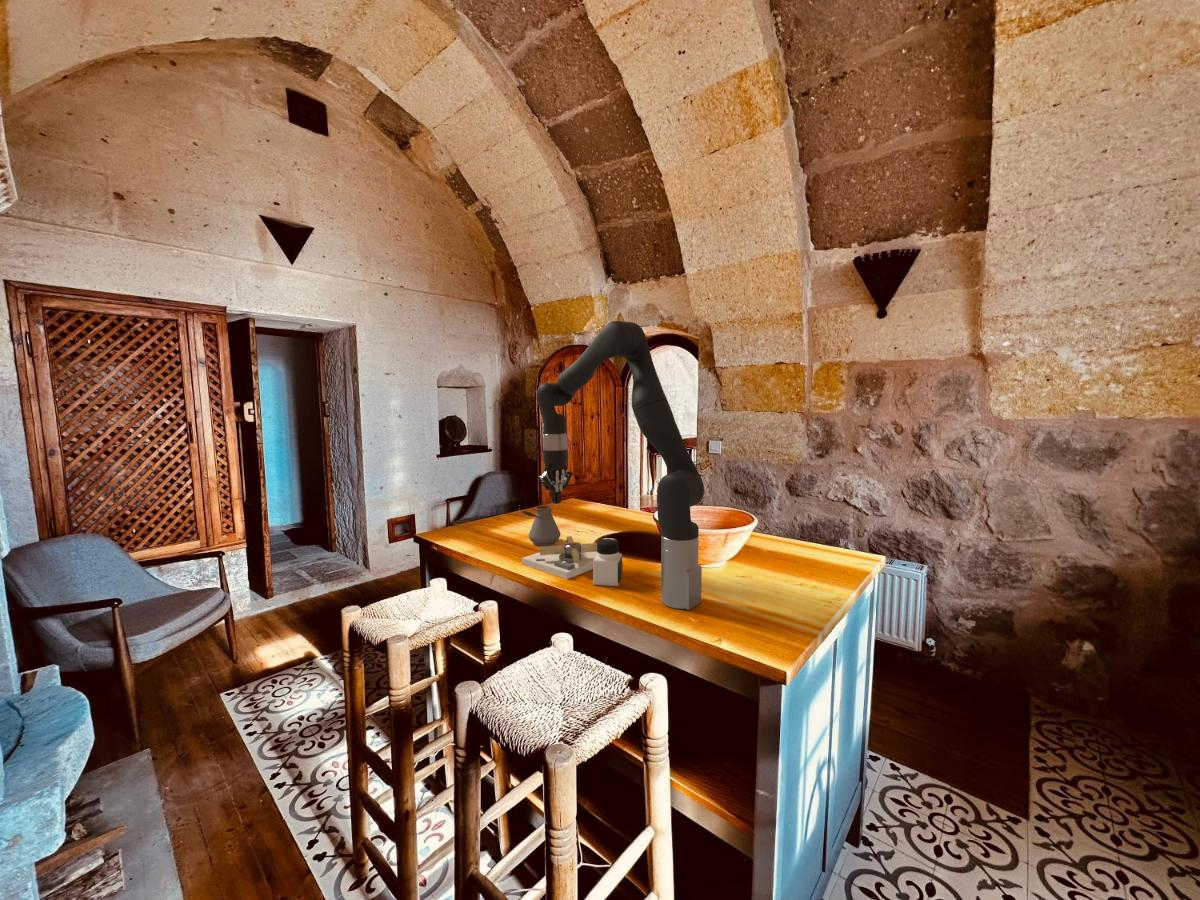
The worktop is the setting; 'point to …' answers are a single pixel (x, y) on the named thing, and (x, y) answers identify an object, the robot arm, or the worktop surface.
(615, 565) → the medicine bottle
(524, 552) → the worktop surface
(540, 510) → the coffee pot
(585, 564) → the board
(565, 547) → the cam capstan
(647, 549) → the worktop surface
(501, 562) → the worktop surface
